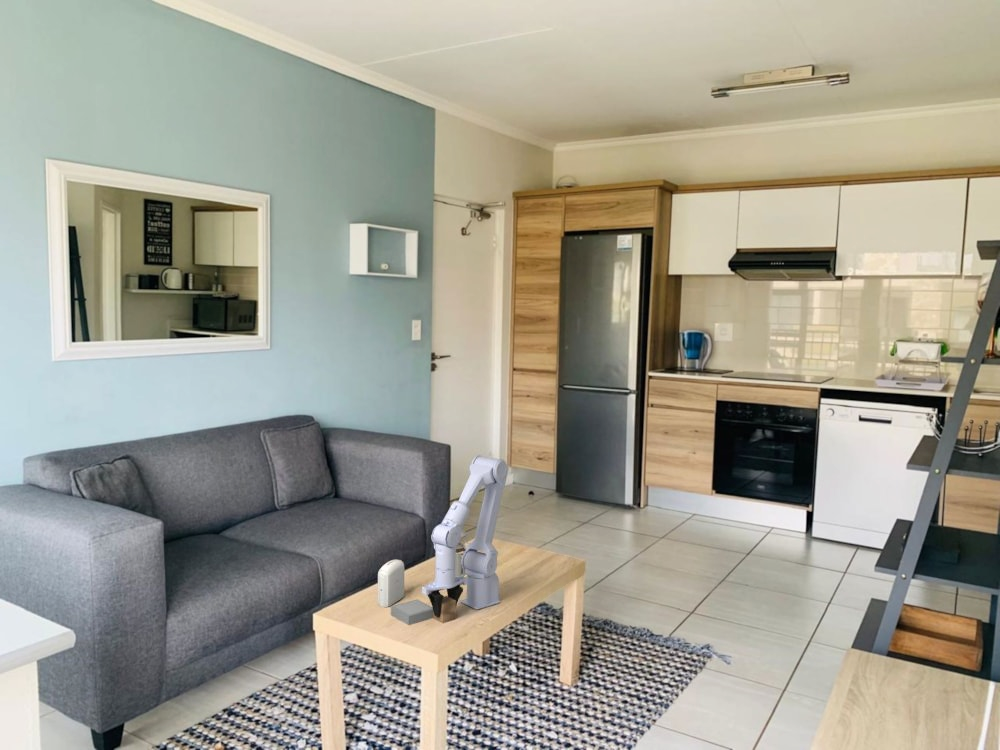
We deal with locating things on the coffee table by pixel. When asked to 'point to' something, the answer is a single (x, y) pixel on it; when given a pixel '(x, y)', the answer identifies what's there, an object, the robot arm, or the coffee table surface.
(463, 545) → the french press
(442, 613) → the walnut block
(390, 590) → the photo printer
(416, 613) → the plinth
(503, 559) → the coffee table surface
